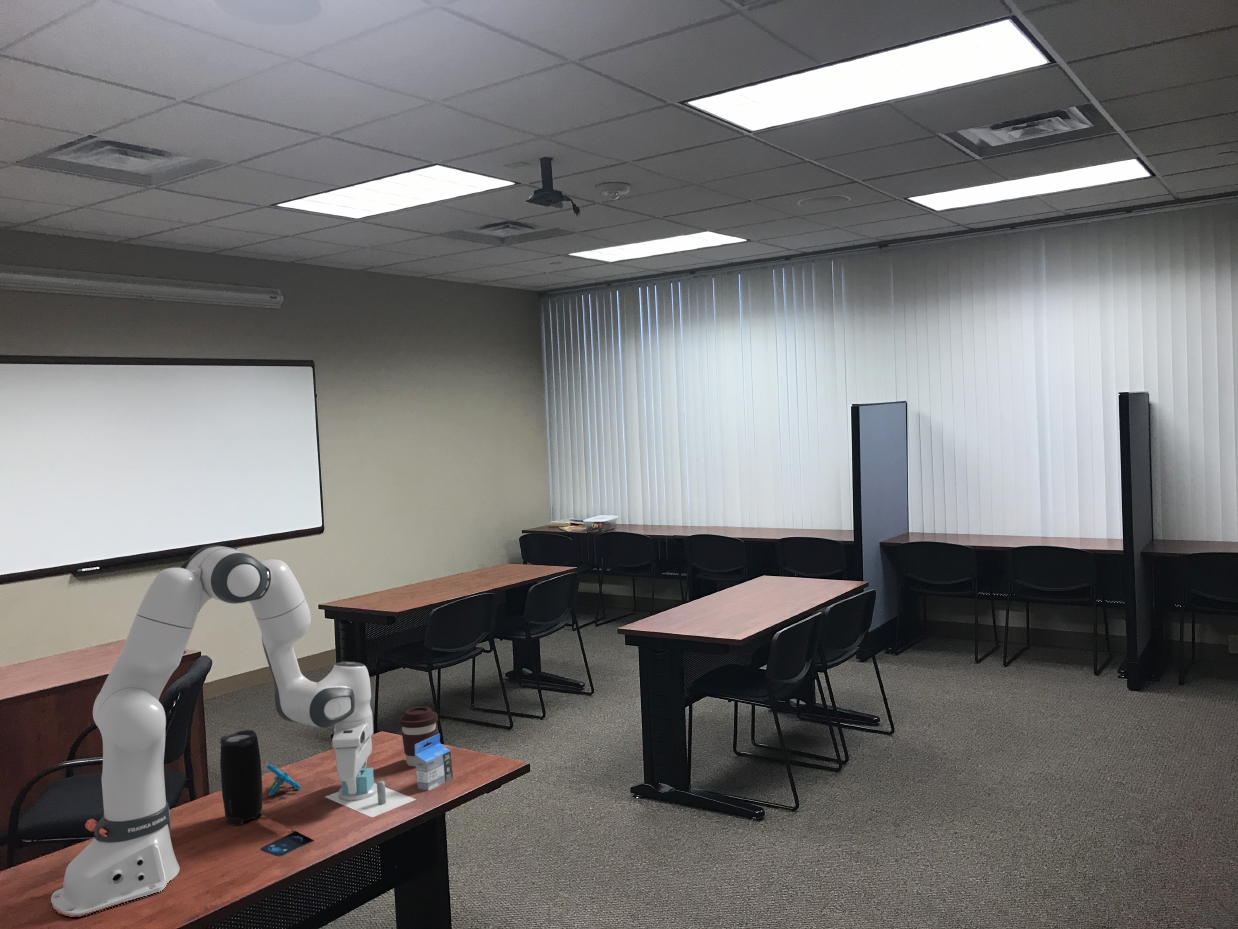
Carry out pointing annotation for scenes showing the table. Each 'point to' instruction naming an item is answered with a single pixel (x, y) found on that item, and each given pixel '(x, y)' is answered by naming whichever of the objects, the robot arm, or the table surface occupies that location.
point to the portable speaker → (241, 777)
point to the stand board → (372, 800)
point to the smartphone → (287, 844)
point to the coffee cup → (417, 729)
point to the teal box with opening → (361, 782)
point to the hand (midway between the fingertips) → (357, 785)
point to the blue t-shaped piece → (281, 780)
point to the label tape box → (432, 763)
